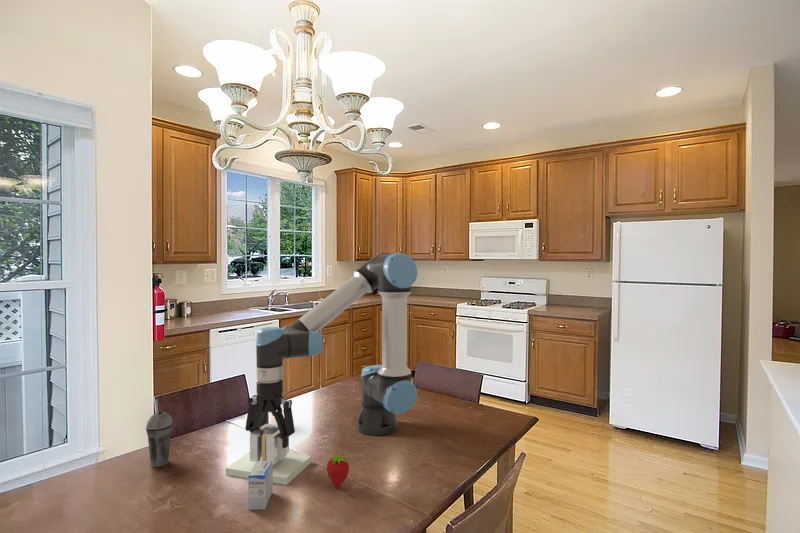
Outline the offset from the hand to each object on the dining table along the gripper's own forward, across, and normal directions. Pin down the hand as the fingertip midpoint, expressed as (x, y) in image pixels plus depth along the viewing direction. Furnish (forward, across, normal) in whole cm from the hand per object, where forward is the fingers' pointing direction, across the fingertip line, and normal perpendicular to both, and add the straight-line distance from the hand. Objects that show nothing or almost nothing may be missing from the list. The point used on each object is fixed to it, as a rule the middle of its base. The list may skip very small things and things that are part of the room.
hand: (269, 456), depth 126 cm
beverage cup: (+4, -34, -7) cm, 35 cm away
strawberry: (+4, +24, -4) cm, 25 cm away
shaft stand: (+4, 0, 0) cm, 4 cm away
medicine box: (+4, +8, -16) cm, 18 cm away
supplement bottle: (+4, -22, +26) cm, 34 cm away
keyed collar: (0, 0, 0) cm, 0 cm away
